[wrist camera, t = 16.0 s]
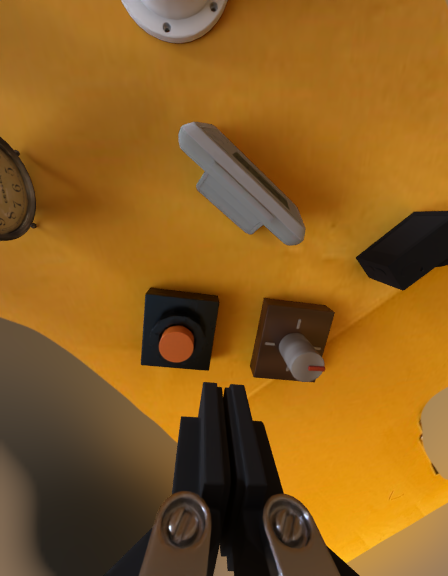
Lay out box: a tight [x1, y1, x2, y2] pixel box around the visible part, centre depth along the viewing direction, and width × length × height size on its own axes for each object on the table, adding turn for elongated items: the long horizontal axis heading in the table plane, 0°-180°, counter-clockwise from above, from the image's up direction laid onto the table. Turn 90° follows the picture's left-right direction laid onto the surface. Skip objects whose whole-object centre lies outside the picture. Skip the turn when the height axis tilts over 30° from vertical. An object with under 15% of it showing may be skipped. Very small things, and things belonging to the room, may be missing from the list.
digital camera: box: [356, 211, 448, 290], centre depth 34 cm, size 10×5×7 cm, turn 130°
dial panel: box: [250, 298, 335, 382], centre depth 39 cm, size 12×10×3 cm
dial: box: [279, 333, 325, 382], centre depth 34 cm, size 4×4×6 cm
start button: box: [159, 325, 194, 362], centre depth 33 cm, size 4×4×2 cm
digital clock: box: [178, 122, 305, 245], centre depth 28 cm, size 16×9×11 cm, turn 39°
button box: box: [141, 288, 219, 371], centre depth 36 cm, size 11×10×5 cm
